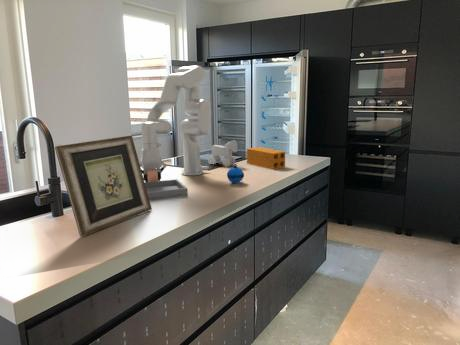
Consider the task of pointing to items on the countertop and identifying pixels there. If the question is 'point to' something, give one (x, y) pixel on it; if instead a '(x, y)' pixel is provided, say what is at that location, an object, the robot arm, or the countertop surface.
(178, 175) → the countertop surface
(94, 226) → the picture frame
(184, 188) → the grey square tray
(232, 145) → the pony
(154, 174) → the terracotta cup
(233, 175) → the ornament
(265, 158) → the brick
